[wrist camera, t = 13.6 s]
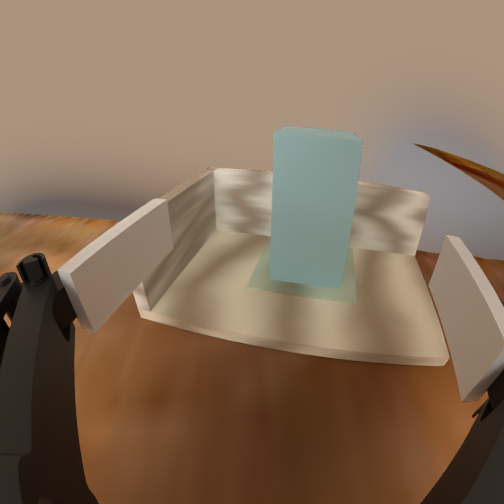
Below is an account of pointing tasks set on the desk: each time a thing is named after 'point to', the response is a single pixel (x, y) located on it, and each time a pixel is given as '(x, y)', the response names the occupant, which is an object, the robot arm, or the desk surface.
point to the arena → (287, 293)
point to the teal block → (312, 204)
